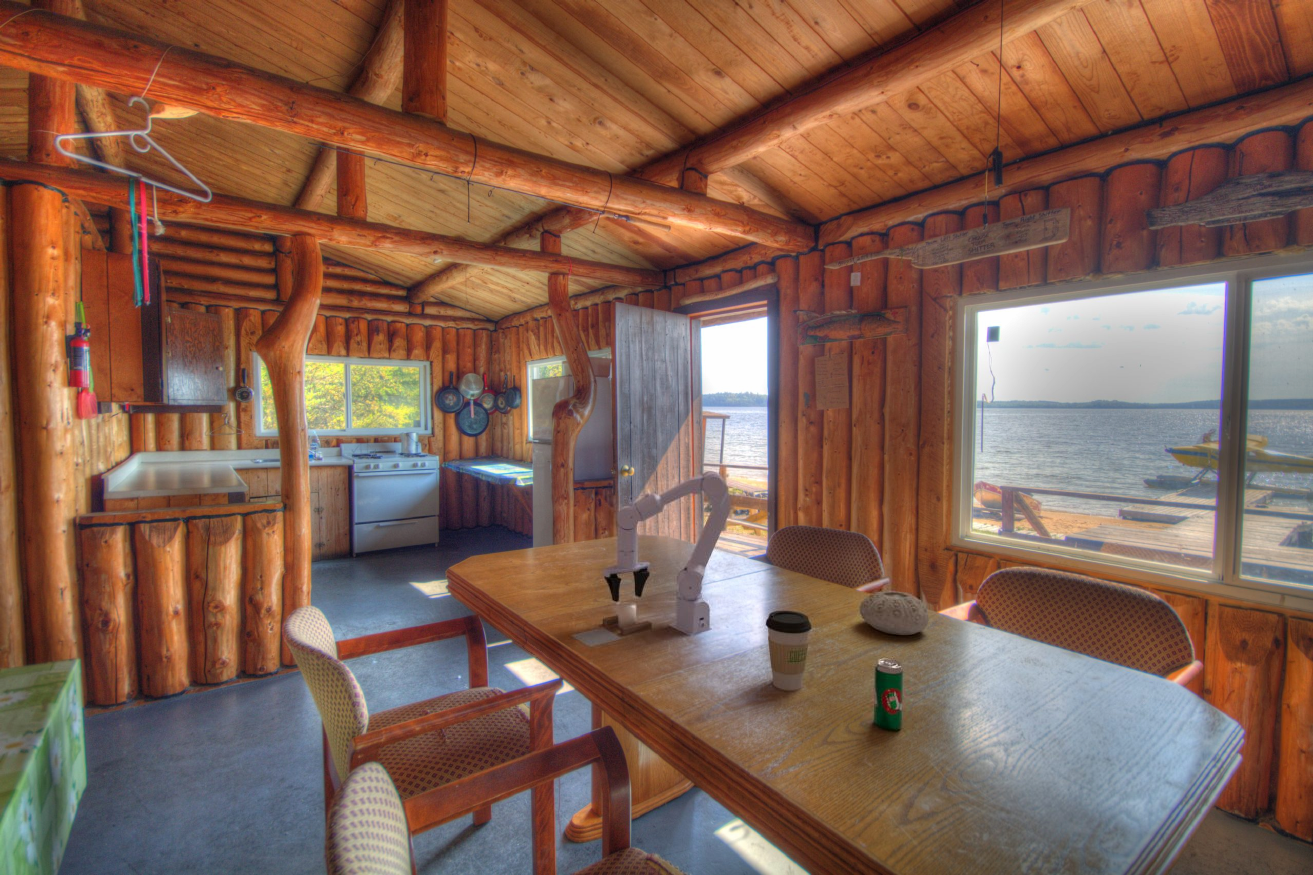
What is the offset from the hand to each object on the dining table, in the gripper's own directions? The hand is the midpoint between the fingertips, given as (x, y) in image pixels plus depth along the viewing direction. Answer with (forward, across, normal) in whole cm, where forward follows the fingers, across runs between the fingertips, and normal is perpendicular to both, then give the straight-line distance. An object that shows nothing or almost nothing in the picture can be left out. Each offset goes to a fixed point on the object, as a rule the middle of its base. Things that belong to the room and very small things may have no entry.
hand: (626, 598), depth 165 cm
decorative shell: (+8, -60, +44) cm, 75 cm away
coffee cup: (+8, -9, +50) cm, 51 cm away
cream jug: (+8, 0, -1) cm, 8 cm away
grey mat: (+8, +11, +2) cm, 14 cm away
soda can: (+8, -11, +73) cm, 74 cm away
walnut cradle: (+8, 0, 0) cm, 8 cm away
